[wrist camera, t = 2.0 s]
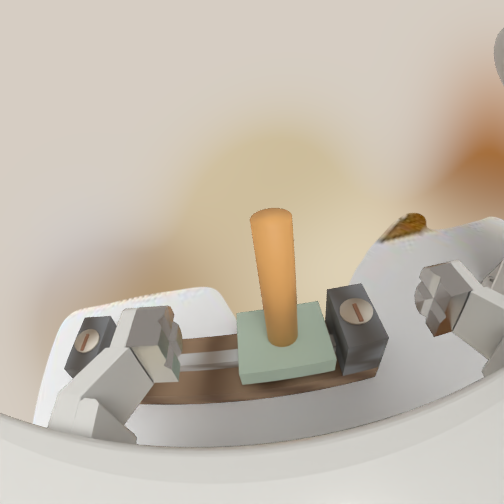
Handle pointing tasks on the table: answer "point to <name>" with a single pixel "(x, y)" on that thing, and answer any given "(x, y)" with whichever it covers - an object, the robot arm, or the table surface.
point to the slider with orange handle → (280, 312)
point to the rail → (226, 356)
